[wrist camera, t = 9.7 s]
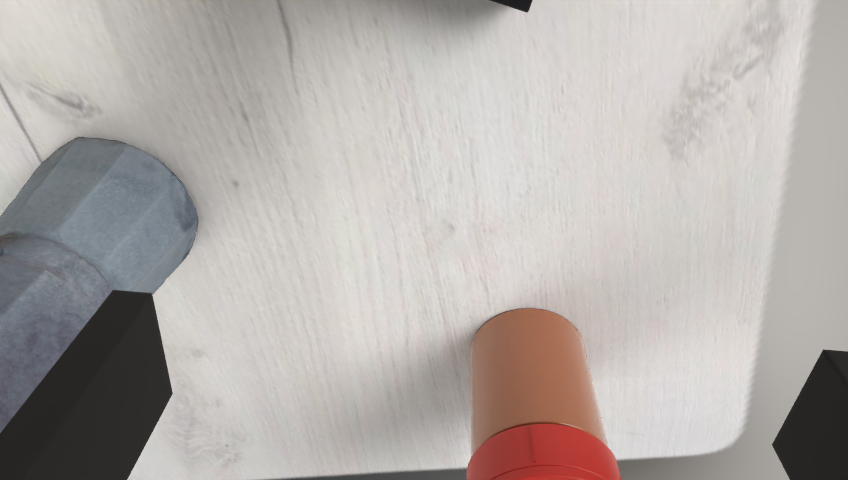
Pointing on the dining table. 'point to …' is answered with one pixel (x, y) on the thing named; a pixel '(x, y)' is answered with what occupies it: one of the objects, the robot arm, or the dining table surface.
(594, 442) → the lid
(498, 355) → the jar
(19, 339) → the moka pot
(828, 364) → the robot arm
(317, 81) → the dining table surface
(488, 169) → the dining table surface
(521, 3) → the panel
